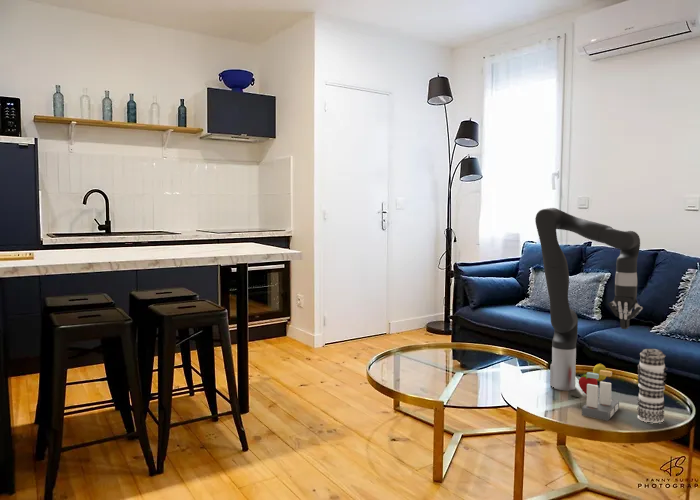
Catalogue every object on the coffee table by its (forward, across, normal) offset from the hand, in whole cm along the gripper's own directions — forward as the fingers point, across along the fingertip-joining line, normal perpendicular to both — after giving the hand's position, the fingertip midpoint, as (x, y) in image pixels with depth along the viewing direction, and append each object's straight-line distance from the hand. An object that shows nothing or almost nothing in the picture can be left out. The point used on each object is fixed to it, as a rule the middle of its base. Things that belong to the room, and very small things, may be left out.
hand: (624, 328), depth 216 cm
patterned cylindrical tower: (+29, +15, -9) cm, 34 cm away
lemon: (+29, -18, +16) cm, 38 cm away
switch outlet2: (+26, +2, -15) cm, 30 cm away
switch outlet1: (+26, 0, -21) cm, 33 cm away
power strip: (+29, 0, -14) cm, 32 cm away
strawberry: (+29, -12, -3) cm, 32 cm away
